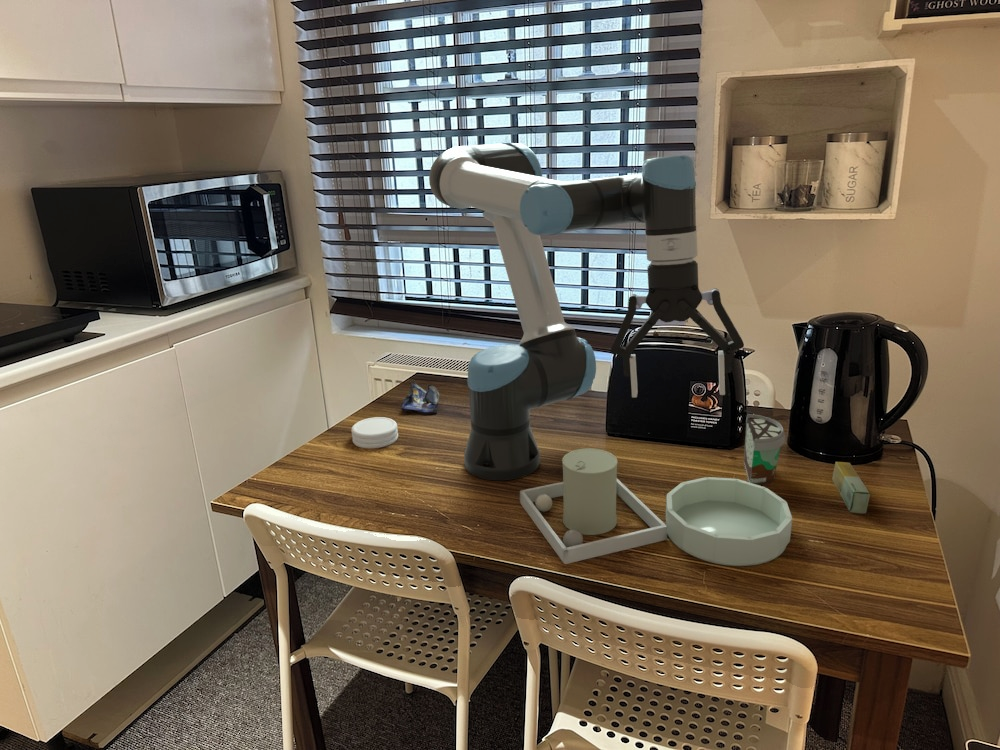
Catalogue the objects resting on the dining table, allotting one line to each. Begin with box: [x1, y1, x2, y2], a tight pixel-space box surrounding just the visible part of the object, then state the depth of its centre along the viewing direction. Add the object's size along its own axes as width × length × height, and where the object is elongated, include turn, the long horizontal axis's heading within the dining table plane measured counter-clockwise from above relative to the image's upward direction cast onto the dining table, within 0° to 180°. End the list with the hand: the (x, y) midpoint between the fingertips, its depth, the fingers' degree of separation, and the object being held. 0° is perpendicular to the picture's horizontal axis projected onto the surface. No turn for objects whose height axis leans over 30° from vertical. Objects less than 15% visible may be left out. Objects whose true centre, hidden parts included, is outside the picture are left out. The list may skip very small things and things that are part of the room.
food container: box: [743, 413, 786, 486], centre depth 132 cm, size 12×6×10 cm, turn 168°
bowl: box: [665, 476, 793, 567], centre depth 115 cm, size 19×19×5 cm
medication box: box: [831, 461, 871, 514], centre depth 125 cm, size 12×3×4 cm, turn 171°
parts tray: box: [519, 478, 668, 565], centre depth 120 cm, size 20×18×2 cm
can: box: [561, 447, 619, 536], centre depth 119 cm, size 9×9×12 cm
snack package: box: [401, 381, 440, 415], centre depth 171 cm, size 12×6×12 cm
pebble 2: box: [562, 529, 584, 548], centre depth 113 cm, size 3×3×3 cm
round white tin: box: [351, 416, 399, 450], centre depth 155 cm, size 10×10×4 cm
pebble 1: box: [534, 494, 553, 513], centre depth 124 cm, size 3×3×3 cm
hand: (677, 394), depth 113 cm, fingers open, 13 cm apart
